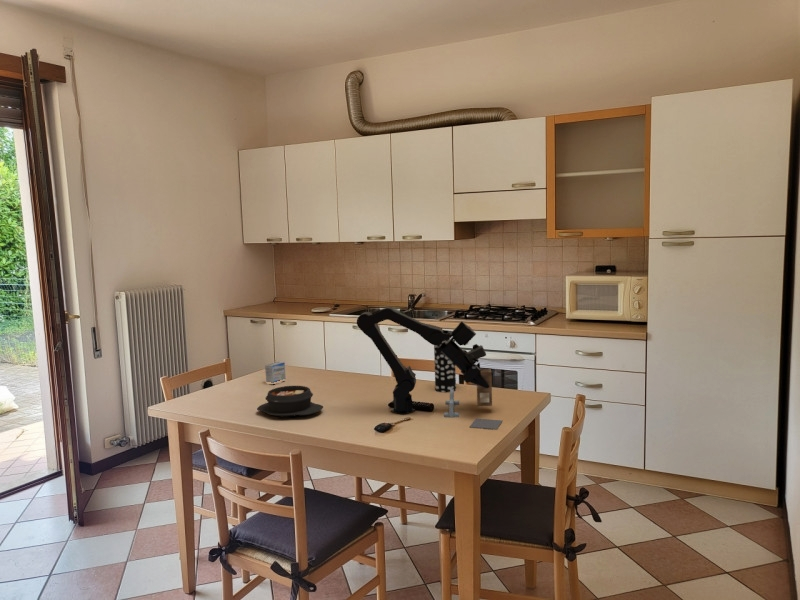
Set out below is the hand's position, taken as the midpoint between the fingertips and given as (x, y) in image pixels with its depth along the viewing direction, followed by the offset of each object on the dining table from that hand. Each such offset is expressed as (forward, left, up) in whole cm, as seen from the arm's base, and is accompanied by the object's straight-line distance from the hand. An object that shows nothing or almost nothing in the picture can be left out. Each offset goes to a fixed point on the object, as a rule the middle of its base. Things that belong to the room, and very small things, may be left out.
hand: (488, 385), depth 210 cm
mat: (+9, -12, -9) cm, 18 cm away
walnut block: (-1, -1, -7) cm, 7 cm away
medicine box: (-98, -25, -9) cm, 102 cm away
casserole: (-54, -47, -10) cm, 72 cm away
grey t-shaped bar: (-11, -7, -9) cm, 16 cm away
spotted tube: (-31, +12, -9) cm, 35 cm away
